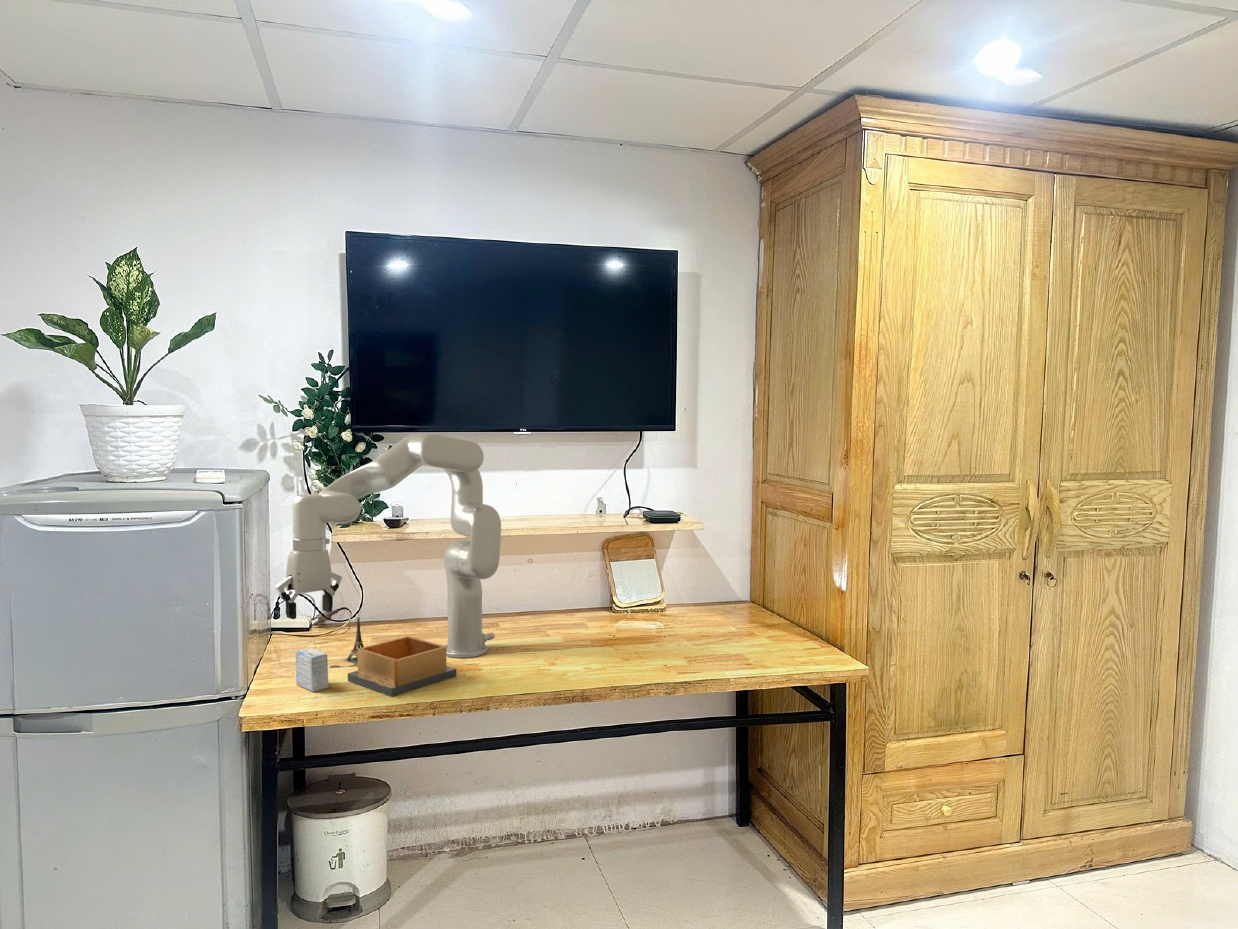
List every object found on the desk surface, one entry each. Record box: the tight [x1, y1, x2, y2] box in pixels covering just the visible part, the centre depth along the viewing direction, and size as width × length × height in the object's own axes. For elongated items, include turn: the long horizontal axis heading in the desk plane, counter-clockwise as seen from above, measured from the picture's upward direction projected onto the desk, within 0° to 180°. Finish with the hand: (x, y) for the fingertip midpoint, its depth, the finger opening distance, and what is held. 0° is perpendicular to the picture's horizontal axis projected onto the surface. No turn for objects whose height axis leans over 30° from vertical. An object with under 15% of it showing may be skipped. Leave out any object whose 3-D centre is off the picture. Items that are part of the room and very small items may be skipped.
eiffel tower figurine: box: [328, 616, 365, 669], centre depth 233 cm, size 15×10×13 cm
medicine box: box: [295, 647, 329, 693], centre depth 211 cm, size 8×4×9 cm, turn 48°
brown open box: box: [347, 635, 457, 698], centre depth 218 cm, size 20×18×8 cm
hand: (309, 614), depth 210 cm, fingers open, 9 cm apart
